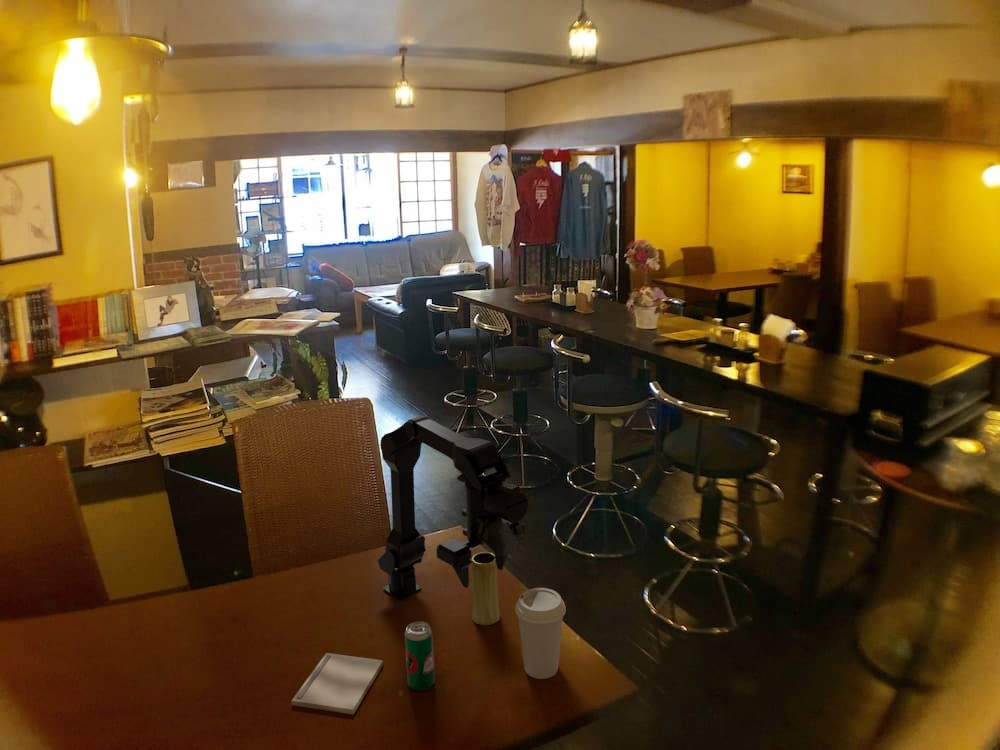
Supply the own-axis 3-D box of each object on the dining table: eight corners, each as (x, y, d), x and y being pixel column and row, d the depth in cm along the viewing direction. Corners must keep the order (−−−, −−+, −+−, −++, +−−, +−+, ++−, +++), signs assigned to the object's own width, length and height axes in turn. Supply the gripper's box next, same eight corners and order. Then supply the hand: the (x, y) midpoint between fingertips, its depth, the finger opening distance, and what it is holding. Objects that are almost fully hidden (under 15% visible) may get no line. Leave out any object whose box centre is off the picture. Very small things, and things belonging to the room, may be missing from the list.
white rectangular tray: (326, 657, 147) (326, 652, 146) (383, 664, 144) (382, 659, 144) (292, 705, 133) (291, 699, 133) (353, 714, 131) (352, 709, 130)
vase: (501, 609, 161) (499, 551, 157) (498, 626, 155) (496, 565, 151) (473, 608, 162) (471, 550, 158) (470, 625, 156) (467, 565, 152)
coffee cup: (536, 646, 148) (535, 580, 144) (575, 664, 142) (575, 596, 138) (506, 671, 141) (504, 602, 137) (546, 691, 135) (546, 619, 131)
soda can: (430, 694, 135) (427, 637, 132) (404, 691, 136) (400, 634, 133) (438, 676, 140) (435, 621, 137) (412, 673, 141) (409, 618, 138)
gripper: (472, 536, 130) (475, 613, 134) (544, 503, 143) (545, 575, 147) (432, 516, 138) (436, 590, 142) (504, 487, 150) (506, 555, 154)
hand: (483, 578), depth 146 cm, fingers open, 9 cm apart
